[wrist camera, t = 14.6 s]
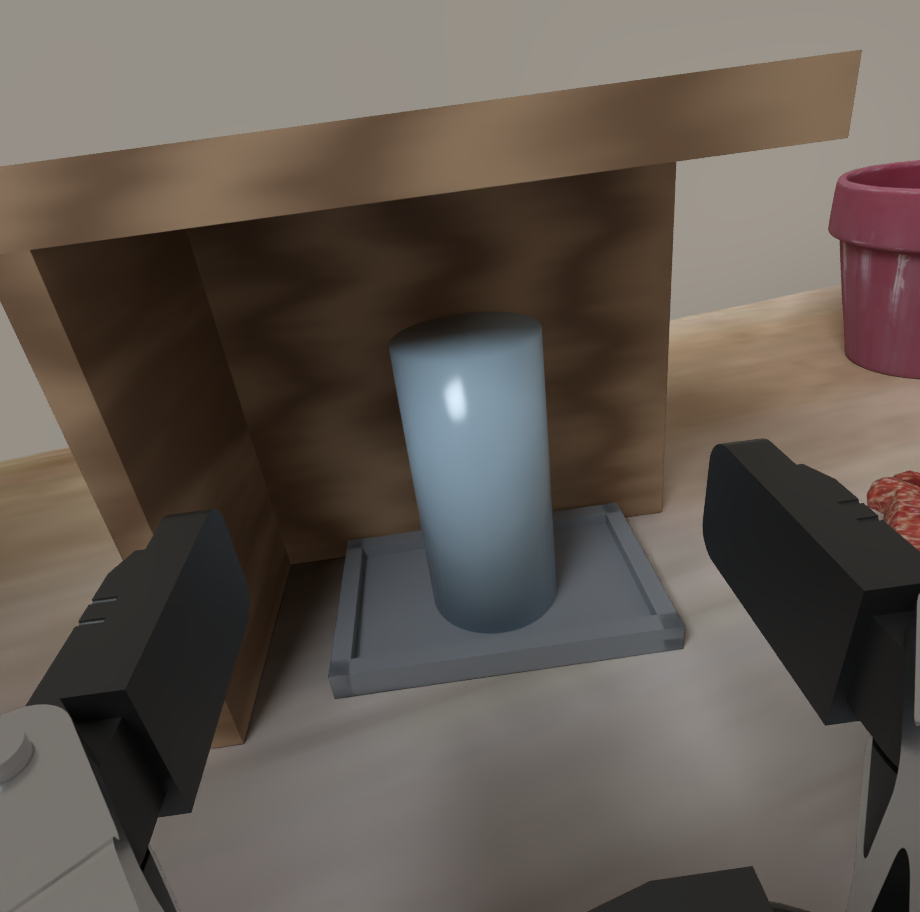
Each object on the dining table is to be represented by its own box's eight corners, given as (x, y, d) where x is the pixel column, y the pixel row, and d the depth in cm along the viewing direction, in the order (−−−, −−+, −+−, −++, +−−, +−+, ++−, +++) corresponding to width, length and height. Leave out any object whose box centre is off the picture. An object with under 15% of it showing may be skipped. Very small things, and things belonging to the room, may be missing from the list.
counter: (211, 748, 23) (-60, 174, 14) (272, 553, 34) (141, 152, 25) (763, 668, 24) (861, 49, 14) (653, 499, 34) (668, 80, 25)
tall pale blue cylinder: (436, 642, 26) (385, 371, 20) (432, 559, 31) (390, 323, 25) (569, 623, 26) (556, 347, 20) (543, 543, 31) (527, 304, 25)
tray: (334, 698, 25) (328, 677, 24) (352, 559, 33) (347, 540, 32) (683, 648, 25) (684, 625, 24) (616, 521, 33) (616, 502, 32)
